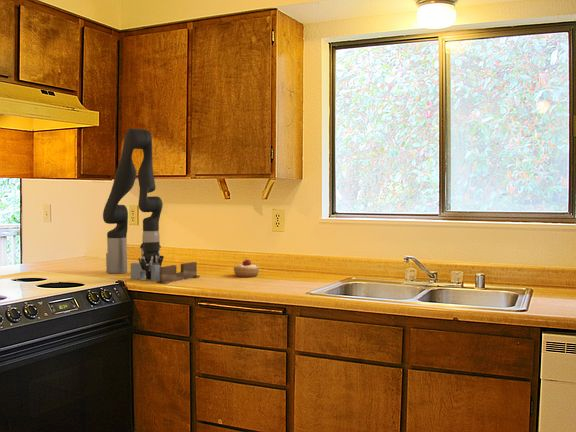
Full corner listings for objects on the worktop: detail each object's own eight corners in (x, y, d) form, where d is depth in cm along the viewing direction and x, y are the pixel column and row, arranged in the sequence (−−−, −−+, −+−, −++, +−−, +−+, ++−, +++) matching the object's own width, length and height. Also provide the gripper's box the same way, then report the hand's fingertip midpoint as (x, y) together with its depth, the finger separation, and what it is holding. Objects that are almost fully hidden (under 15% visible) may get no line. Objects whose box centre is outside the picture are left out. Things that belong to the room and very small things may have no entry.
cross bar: (130, 278, 286) (130, 263, 286) (135, 277, 289) (135, 262, 288) (155, 281, 277) (155, 265, 277) (160, 280, 280) (160, 265, 280)
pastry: (261, 275, 298) (262, 257, 298) (255, 278, 287) (256, 259, 286) (237, 274, 300) (238, 255, 300) (230, 277, 289) (231, 258, 288)
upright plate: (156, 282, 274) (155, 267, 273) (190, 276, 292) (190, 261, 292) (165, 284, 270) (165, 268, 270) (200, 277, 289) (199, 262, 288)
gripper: (156, 239, 288) (157, 276, 289) (133, 241, 276) (133, 280, 277) (168, 240, 284) (168, 277, 285) (145, 242, 272) (145, 281, 273)
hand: (151, 278), depth 281 cm, fingers closed on cross bar, 3 cm apart
